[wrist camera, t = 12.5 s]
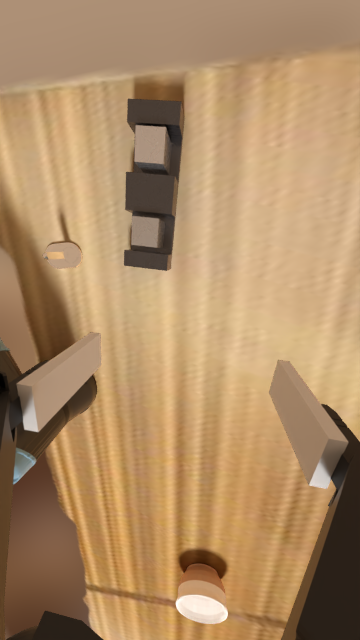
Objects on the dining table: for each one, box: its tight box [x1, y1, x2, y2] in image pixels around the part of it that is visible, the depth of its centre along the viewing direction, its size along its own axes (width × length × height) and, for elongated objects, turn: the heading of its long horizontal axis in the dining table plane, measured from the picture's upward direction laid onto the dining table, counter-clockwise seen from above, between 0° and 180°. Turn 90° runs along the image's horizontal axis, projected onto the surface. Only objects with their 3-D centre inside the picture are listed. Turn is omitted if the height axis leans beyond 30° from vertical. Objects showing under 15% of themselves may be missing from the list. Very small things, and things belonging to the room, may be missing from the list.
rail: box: [124, 99, 184, 271], centre depth 37 cm, size 8×24×4 cm, turn 174°
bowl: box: [176, 564, 228, 624], centre depth 69 cm, size 16×16×8 cm
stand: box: [43, 242, 83, 269], centre depth 40 cm, size 8×5×8 cm
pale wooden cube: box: [134, 125, 172, 175], centre depth 34 cm, size 4×4×5 cm
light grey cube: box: [131, 216, 165, 248], centre depth 38 cm, size 4×4×5 cm
